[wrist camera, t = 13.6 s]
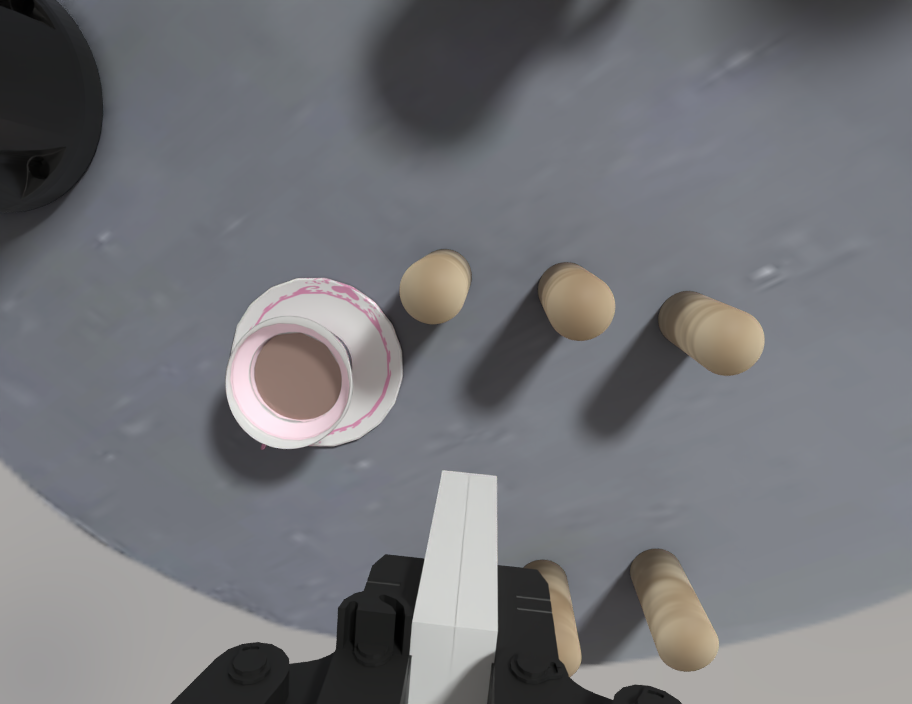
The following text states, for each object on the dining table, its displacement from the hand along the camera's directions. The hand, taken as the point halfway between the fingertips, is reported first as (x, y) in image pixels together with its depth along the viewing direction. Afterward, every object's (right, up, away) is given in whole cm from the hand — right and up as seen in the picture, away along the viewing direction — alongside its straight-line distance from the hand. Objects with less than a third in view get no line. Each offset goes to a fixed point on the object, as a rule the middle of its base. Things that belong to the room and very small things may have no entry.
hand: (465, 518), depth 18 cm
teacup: (-10, +4, +27) cm, 29 cm away
